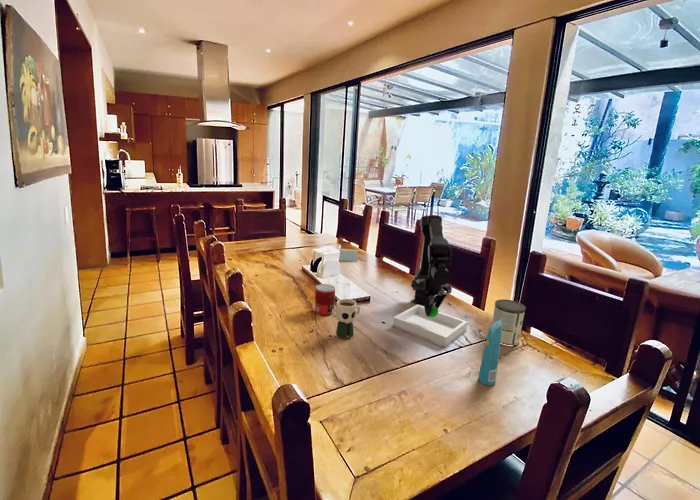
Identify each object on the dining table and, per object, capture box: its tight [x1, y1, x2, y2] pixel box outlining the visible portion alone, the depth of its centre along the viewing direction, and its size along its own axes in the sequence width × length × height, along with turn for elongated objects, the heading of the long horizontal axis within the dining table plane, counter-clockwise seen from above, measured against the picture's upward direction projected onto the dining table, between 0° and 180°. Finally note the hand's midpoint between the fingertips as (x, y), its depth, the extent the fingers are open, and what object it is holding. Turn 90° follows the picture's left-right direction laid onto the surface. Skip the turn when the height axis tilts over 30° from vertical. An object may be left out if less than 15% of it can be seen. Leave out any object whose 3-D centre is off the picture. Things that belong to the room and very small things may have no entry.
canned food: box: [314, 283, 336, 317], centre depth 151 cm, size 8×8×11 cm
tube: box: [477, 319, 502, 386], centre depth 109 cm, size 7×5×19 cm, turn 140°
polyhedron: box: [425, 306, 439, 317], centre depth 141 cm, size 5×5×5 cm
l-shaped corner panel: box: [337, 244, 359, 263], centre depth 229 cm, size 12×12×8 cm
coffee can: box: [491, 298, 526, 345], centre depth 136 cm, size 10×10×14 cm
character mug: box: [331, 298, 361, 340], centre depth 132 cm, size 11×7×13 cm, turn 115°
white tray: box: [392, 304, 468, 349], centre depth 142 cm, size 18×22×4 cm
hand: (431, 314), depth 141 cm, fingers closed on polyhedron, 5 cm apart
